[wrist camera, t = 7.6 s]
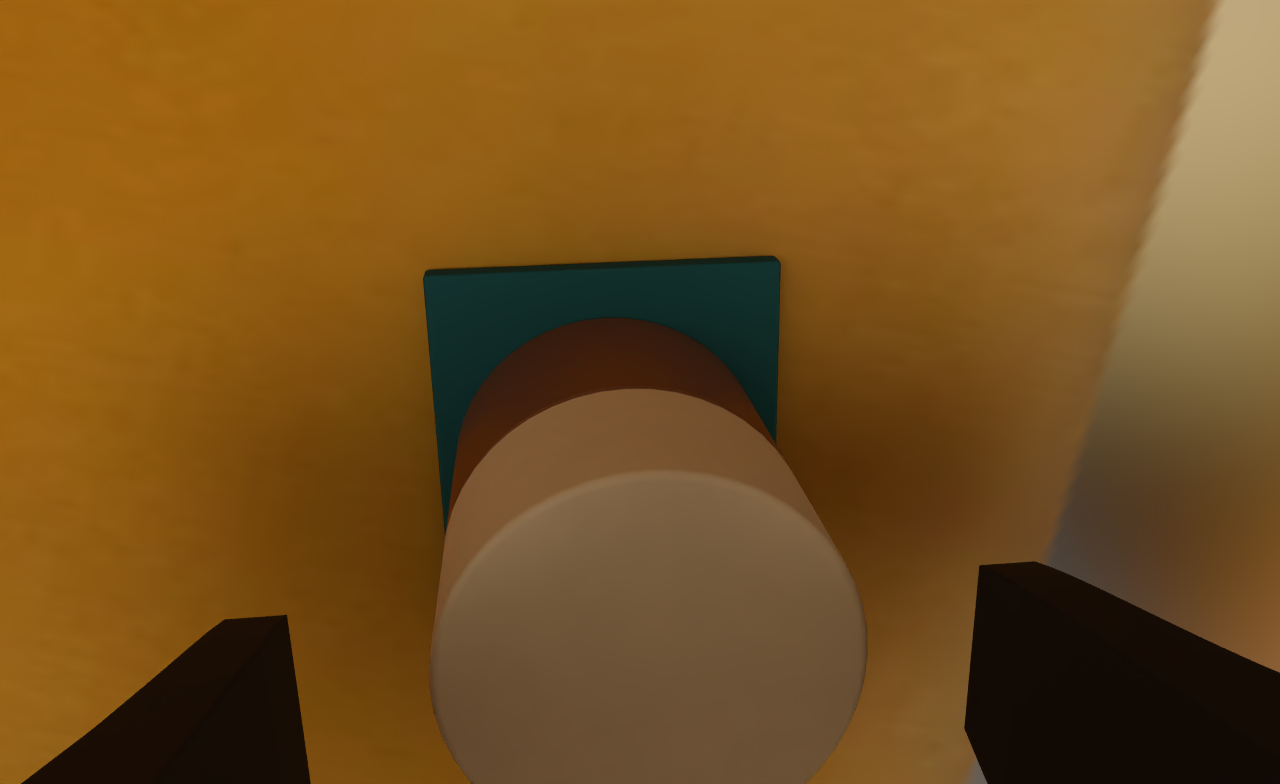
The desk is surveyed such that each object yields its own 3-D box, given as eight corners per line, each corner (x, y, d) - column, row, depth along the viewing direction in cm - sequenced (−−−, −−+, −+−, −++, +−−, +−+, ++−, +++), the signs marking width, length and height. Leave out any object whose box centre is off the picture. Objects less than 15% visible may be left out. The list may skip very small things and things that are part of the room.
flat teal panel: (766, 617, 18) (771, 631, 18) (456, 640, 18) (454, 654, 17) (775, 254, 16) (781, 260, 16) (424, 269, 16) (422, 276, 15)
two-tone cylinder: (757, 587, 17) (859, 835, 12) (467, 607, 17) (446, 874, 12) (762, 308, 16) (882, 458, 11) (443, 323, 15) (409, 486, 10)
